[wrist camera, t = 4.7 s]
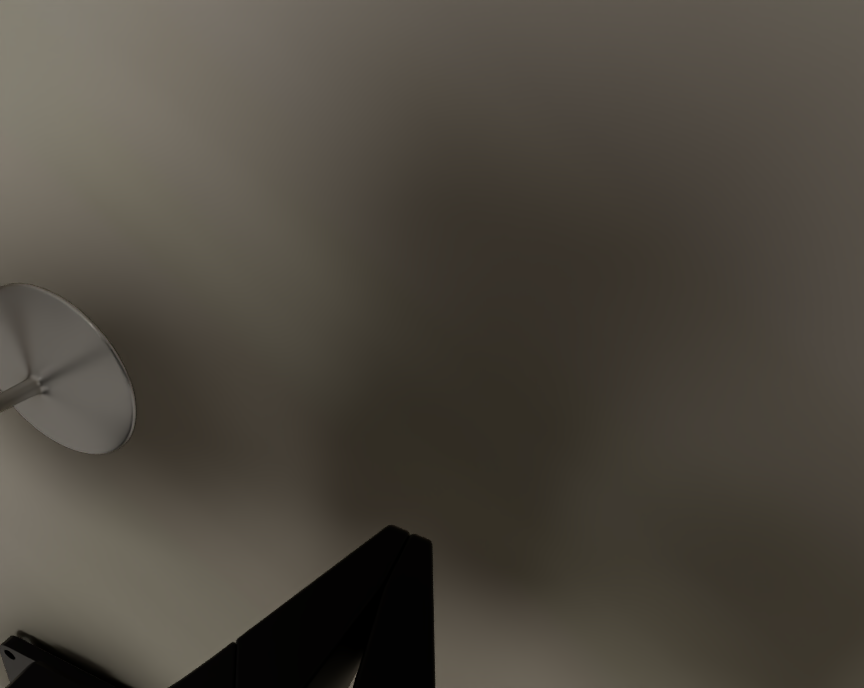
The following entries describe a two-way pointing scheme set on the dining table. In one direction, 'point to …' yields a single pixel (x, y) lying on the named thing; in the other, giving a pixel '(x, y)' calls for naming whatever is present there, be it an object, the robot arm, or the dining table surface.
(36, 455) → the dining table surface
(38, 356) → the goblet set
